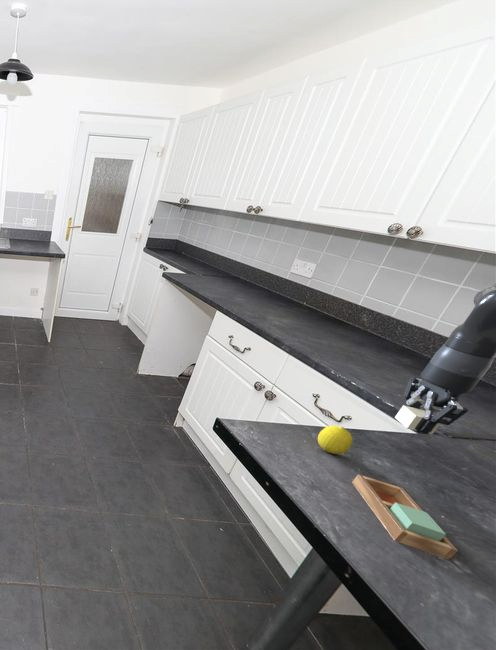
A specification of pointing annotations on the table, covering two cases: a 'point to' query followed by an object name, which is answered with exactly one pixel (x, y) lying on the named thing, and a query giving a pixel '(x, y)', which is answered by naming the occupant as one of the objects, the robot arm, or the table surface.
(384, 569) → the table surface
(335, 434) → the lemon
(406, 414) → the cream pad
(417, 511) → the sage pad
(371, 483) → the pad holder
